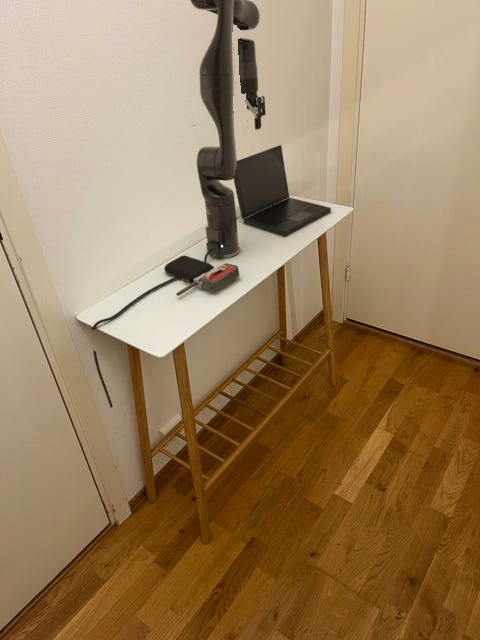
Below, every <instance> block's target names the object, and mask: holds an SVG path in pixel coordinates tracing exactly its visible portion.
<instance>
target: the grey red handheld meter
mask: <svg viewBox="0 0 480 640" xmlns="http://www.w3.org/2000/svg"><path fill="white" fill-rule="evenodd" d="M238 277H240V271H239V266H238V265H236V264H232V263H228V262H225V263H223V264H220V265H219V266H218V267H214V268H213V269H212V270H210V271H208V272H207V273H204V274H202V275H200V276H199V277H197V278H195V279H194V282H191V284H189V285H187V286H185V287H184V288H182V289H181V290H179V291H177V292H176V293H175V294H176V296H177V297H179V296H181V295H183V294H184V293H186V292H188V291H189V290H191V289H193V288H195V287H196V286H197V287H198V288H199V289H204V290H207V291H211V292H217V291H219V290H220V289H221V288H222V287H224V286H226V285H227V284H229V283H231V282H232V281H233V280H235V279H237V278H238Z"/></svg>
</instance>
